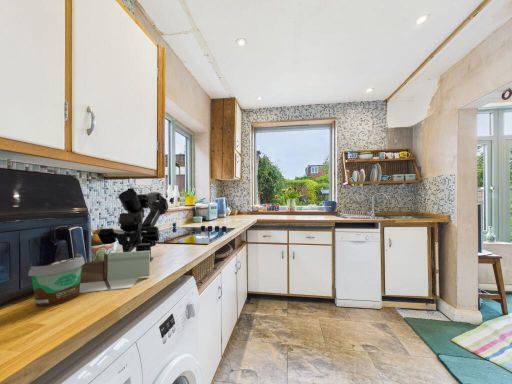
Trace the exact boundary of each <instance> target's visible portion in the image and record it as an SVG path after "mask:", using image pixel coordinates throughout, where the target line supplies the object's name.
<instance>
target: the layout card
mask: <svg viewBox="0 0 512 384" xmlns="http://www.w3.org/2000/svg"><path fill="white" fill-rule="evenodd" d="M139 278H140V277H133V278H122V279H111V280H106V281H100V282H89V283H80V291H79V294H83V293H95V292H102V291H103V292H105V291H114V290H115V291H116V290H124V289H125V290H126V289H132V288H133V287H134V285H135V284H136V283H137V281H138V279H139Z"/></svg>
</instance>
